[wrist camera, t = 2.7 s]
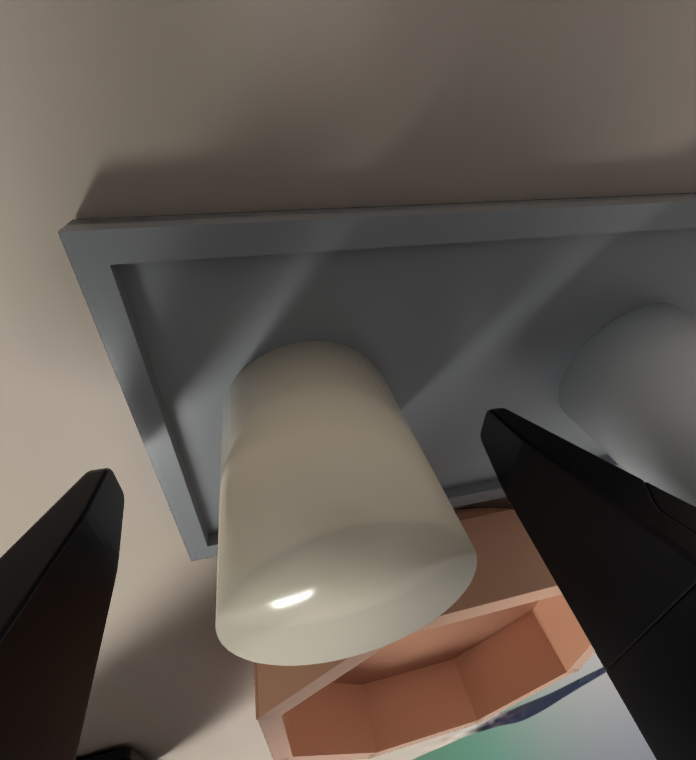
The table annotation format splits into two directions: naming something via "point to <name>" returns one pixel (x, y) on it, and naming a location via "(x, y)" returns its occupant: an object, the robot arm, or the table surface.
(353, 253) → the parts tray
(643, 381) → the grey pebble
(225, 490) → the cream rounded cylinder
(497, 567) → the terracotta bowl
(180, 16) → the table surface
